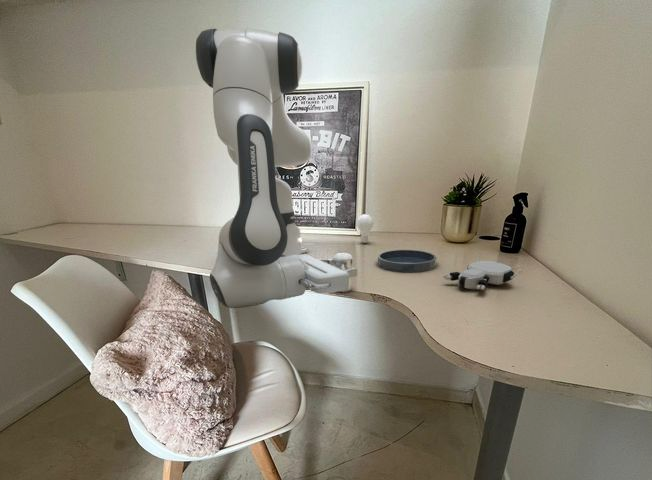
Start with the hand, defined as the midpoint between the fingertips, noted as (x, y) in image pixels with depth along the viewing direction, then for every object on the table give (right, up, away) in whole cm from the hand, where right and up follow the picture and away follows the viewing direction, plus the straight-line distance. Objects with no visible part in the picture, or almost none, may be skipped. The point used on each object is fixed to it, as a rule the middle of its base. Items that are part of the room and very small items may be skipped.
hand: (344, 266), depth 79 cm
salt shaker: (0, -6, +2) cm, 6 cm away
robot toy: (+34, -4, +4) cm, 34 cm away
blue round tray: (+19, +4, +22) cm, 30 cm away
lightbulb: (+9, +16, +51) cm, 55 cm away
